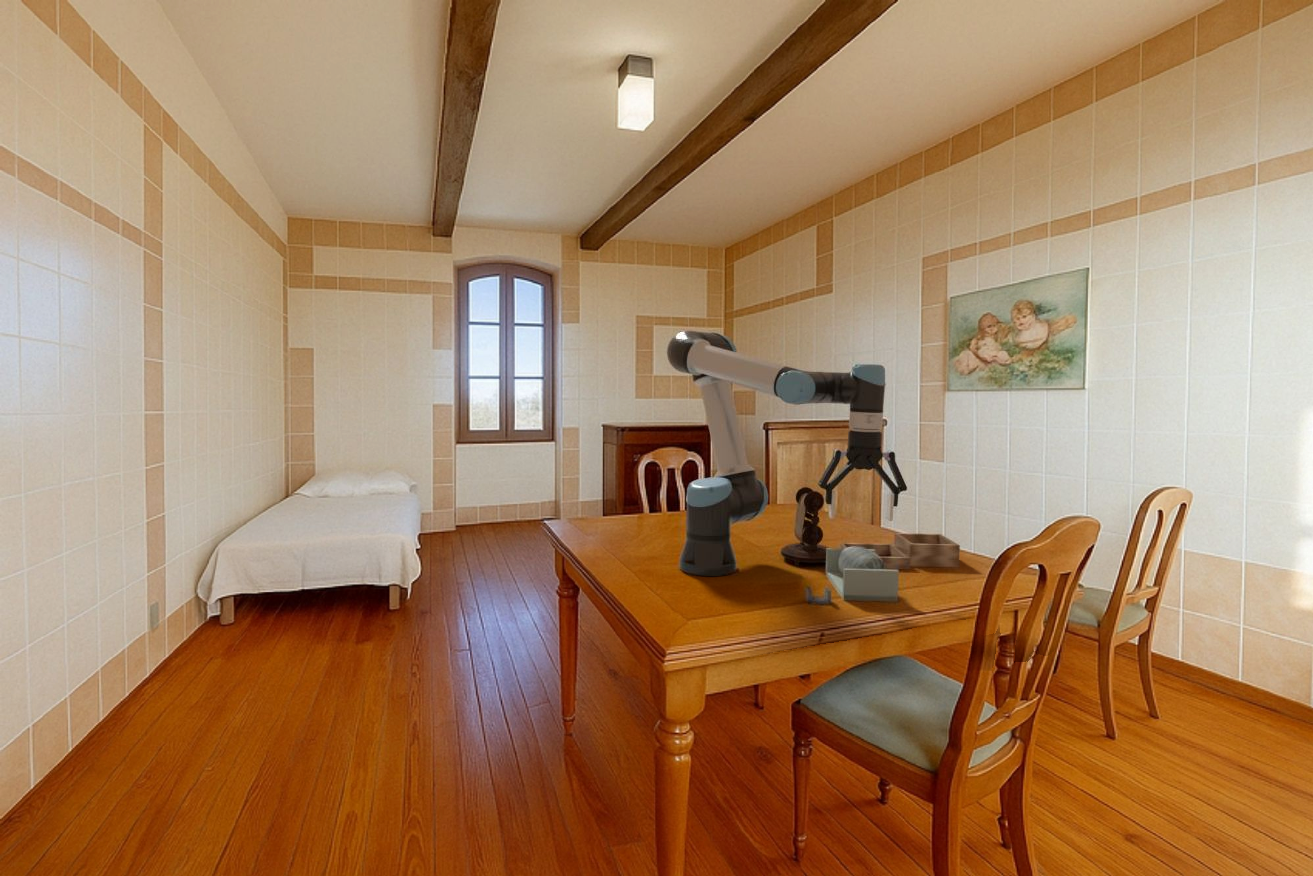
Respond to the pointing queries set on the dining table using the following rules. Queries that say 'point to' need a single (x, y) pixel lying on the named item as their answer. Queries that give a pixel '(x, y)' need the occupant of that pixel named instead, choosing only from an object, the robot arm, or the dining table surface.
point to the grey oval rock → (859, 559)
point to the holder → (861, 580)
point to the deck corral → (893, 562)
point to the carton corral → (928, 549)
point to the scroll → (807, 529)
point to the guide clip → (818, 597)
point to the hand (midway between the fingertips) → (860, 518)
